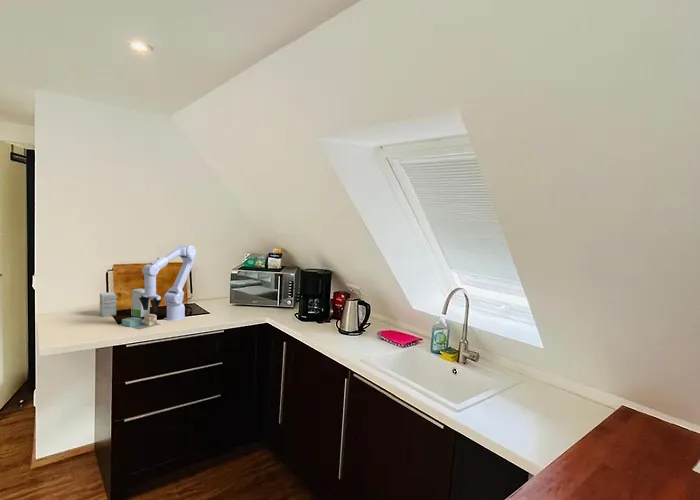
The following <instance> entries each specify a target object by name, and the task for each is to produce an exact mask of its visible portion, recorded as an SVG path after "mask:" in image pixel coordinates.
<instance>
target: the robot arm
mask: <svg viewBox="0 0 700 500" xmlns="http://www.w3.org/2000/svg"><path fill="white" fill-rule="evenodd" d="M196 254H197V250H196V248H195V246H194V245H188V244H187V245H186V244H179V245H177V246H175V248H174V249H172V251H170V252H169V253H168V254H166V255H165V256H158V257H157V258H156V259H155V260H154V261H150V263H149V264H145V265H144V266H143V267H142V269H141V272H142V275H143V279H144V280H143V281H144V288H143V289H145V293H144V292H143V293H140V296H141V298H139V299H140V301H141V303H142V306H143V309H144V310H148V304H149V300H150V305H151V308H152V309H151V310H152V314H155V313H157V312H158V310H159V306H160V304H161V302H162V297H161V295H159V294H157V275H158V274H159V271H160V270H162V269H164V268H166V267H167V266H168V265H169V262H171V261H172V260H174V259H175V258H177V257H180V258H181V260H182V265H181V267H180V269H179V271H178V274H177V275H176V279H175V281H174V283H173V285H172V287H170V288H168V290H167V291H166V293H165V294H164V295H163V300H164V302H165V304H166V317H164V318H163V320H166V321H168V322H169V321H170V322H175V321H179V320H183V319H186V318H187V317H185V316H186V314H185V313H186V312H185V311H186V307H185V304H184V303H183V301H184V295H185V292H184V290H183V288H184V287H185V284H186V282H187V279H188V277H189V275H190V273H191V271H192V267H193V265H194V262H195V257H196Z"/></svg>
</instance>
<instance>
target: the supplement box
mask: <svg viewBox="0 0 700 500" xmlns="http://www.w3.org/2000/svg"><path fill="white" fill-rule="evenodd" d="M99 314H100V315H101V316H102V317H111V316H117V294H116V293H115V292H113V291H110V292H108V291H107V292H100V293H99Z"/></svg>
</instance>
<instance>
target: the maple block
mask: <svg viewBox="0 0 700 500" xmlns="http://www.w3.org/2000/svg"><path fill="white" fill-rule="evenodd" d="M157 317H158V316H157V314H155V313H150V314H149V315H144V316H143V320H144V325H148V326H151V325H155V324H157V320H158V319H157Z"/></svg>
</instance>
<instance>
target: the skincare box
mask: <svg viewBox="0 0 700 500" xmlns="http://www.w3.org/2000/svg"><path fill="white" fill-rule="evenodd" d="M143 292H144V293H145V289H144V288H142V287H139V288H134V289H131V310H130V311H131V312H130V314H131V316H132V317H137V318H142V317H143V318H144V315H149V314H151V313H150V312H151V308H150V307H151V302H150V300H151V299H150V300H149V304H148V310H144V309H143V306H142V303H141V301H140V299H139V298H141V296H140V293H143Z"/></svg>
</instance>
